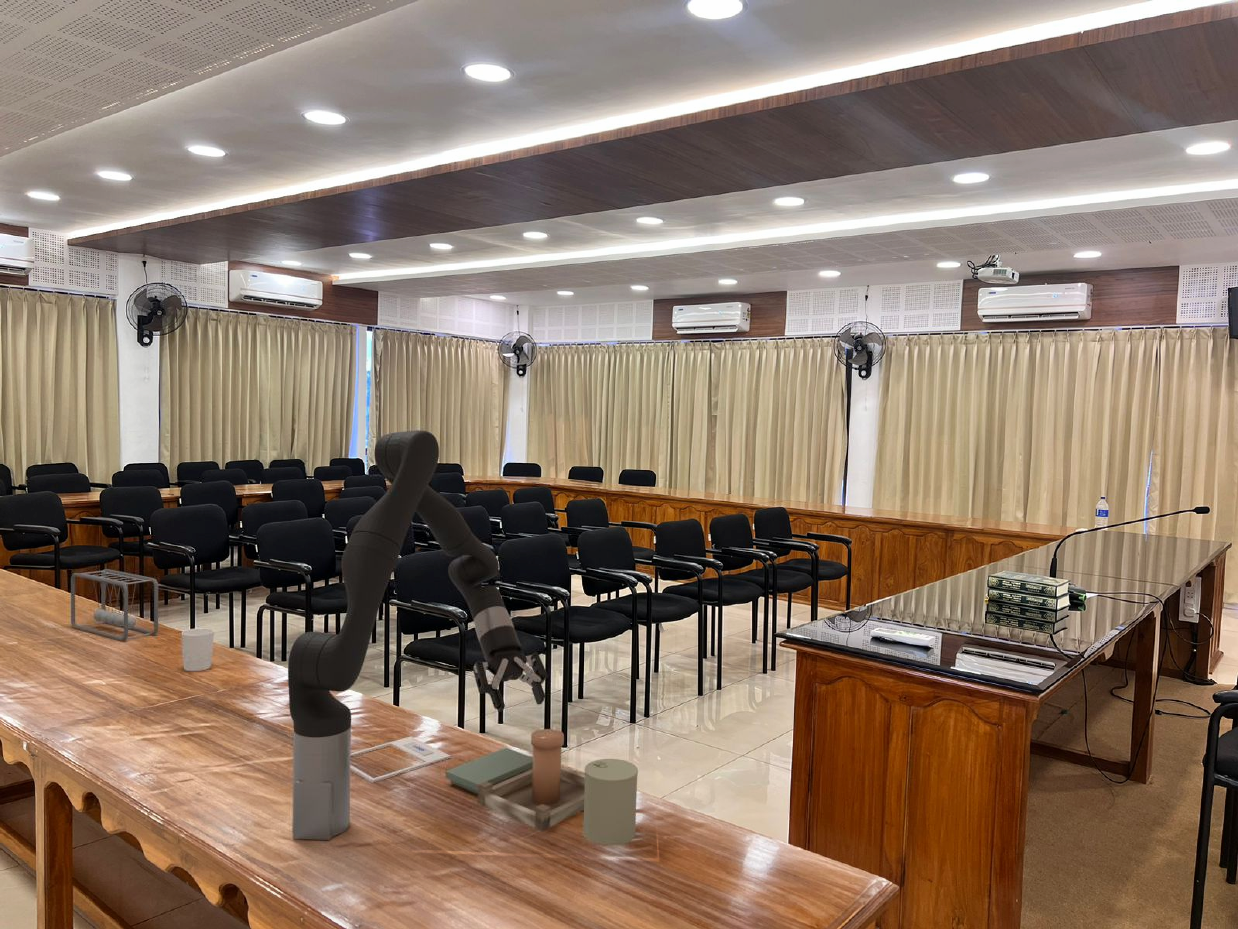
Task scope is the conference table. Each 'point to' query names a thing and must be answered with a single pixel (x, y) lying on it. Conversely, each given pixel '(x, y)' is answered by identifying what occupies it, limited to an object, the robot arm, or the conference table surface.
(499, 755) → the green stand
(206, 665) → the white cup
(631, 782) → the can
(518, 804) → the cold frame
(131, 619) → the newton's cradle
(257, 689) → the conference table surface
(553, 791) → the brown capped bottle
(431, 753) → the photo frame
